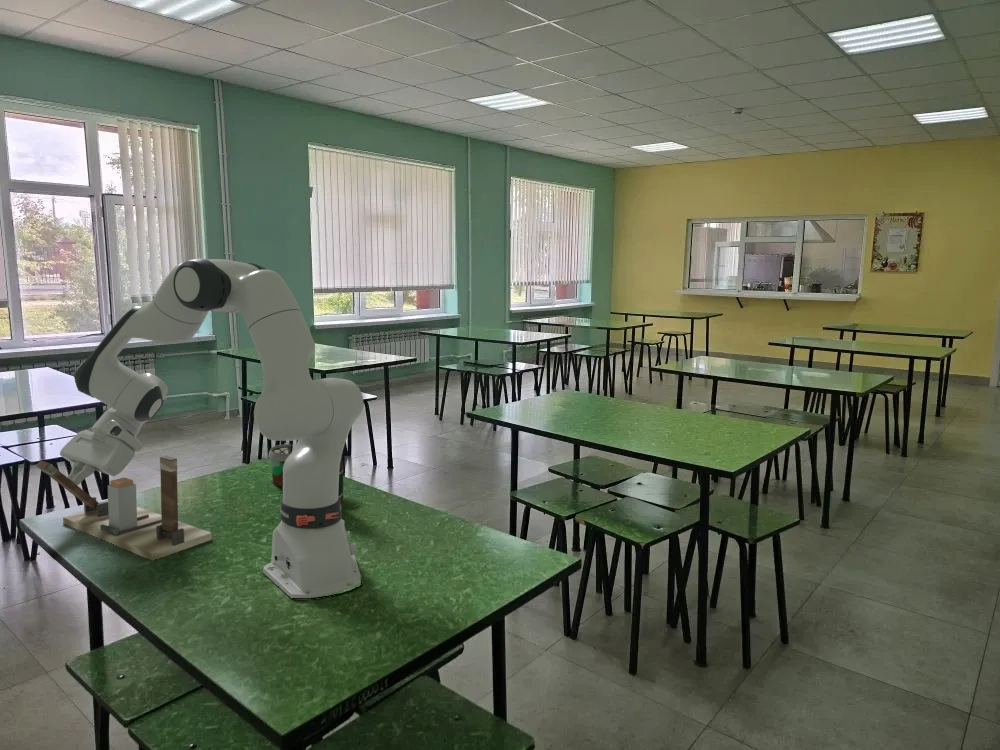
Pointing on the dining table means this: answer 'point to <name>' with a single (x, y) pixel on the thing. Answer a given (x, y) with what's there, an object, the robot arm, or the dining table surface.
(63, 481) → the wooden stick
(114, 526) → the slider
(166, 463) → the brown lever
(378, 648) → the dining table surface
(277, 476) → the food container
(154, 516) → the panel
